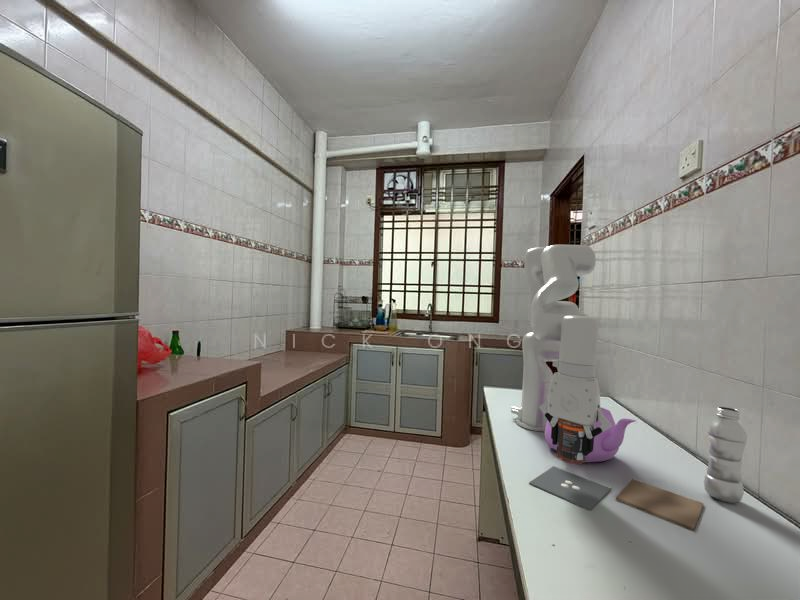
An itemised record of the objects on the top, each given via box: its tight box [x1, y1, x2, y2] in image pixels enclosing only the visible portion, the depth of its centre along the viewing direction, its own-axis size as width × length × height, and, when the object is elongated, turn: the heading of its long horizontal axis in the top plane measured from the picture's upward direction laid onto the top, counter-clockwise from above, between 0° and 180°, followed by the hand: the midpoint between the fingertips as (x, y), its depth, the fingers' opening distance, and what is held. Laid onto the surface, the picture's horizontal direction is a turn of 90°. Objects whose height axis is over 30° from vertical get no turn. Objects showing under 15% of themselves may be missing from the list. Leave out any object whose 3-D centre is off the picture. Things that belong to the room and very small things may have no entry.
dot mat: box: [528, 465, 612, 511], centre depth 80 cm, size 13×13×1 cm
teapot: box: [544, 406, 637, 463], centre depth 96 cm, size 23×21×15 cm
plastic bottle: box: [703, 406, 748, 504], centre depth 79 cm, size 6×7×20 cm
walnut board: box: [615, 478, 704, 531], centre depth 76 cm, size 13×13×1 cm
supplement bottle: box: [556, 419, 586, 465], centre depth 81 cm, size 6×6×11 cm
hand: (571, 447), depth 81 cm, fingers closed on supplement bottle, 6 cm apart
